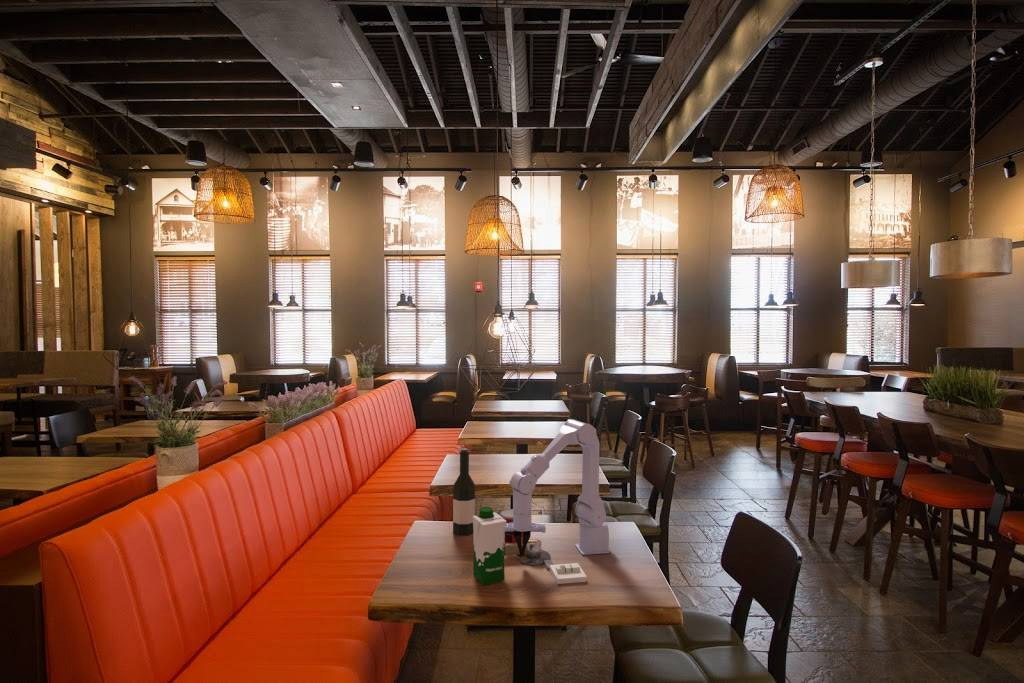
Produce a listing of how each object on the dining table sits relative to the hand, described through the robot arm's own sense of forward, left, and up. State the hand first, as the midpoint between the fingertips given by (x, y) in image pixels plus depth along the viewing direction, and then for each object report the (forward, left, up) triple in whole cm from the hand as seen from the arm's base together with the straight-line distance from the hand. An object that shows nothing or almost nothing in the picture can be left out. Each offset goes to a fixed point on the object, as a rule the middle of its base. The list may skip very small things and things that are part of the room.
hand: (522, 554), depth 171 cm
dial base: (-5, -3, -4) cm, 7 cm away
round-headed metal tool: (0, -6, -3) cm, 6 cm away
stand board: (-12, +9, -4) cm, 15 cm away
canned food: (0, -16, -4) cm, 16 cm away
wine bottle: (+15, -30, -4) cm, 34 cm away
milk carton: (+11, +6, -4) cm, 13 cm away
